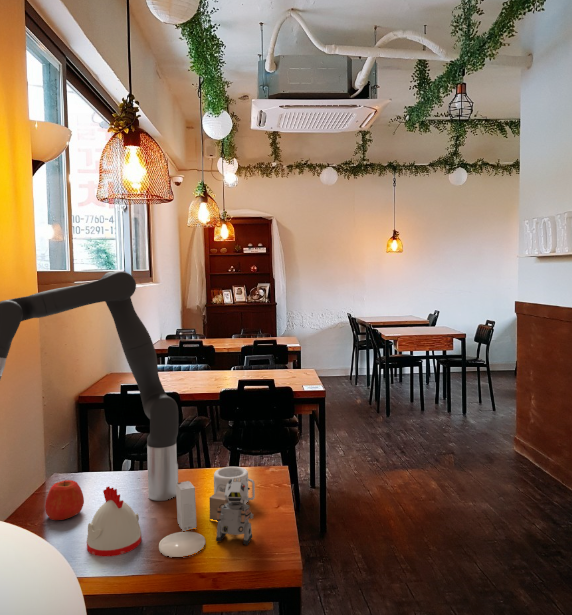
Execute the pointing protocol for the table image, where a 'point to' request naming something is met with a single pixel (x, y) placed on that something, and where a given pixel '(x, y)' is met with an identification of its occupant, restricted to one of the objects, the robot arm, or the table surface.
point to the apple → (64, 500)
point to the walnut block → (216, 503)
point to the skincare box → (186, 505)
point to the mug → (229, 473)
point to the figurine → (235, 512)
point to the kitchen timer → (113, 527)
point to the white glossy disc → (181, 544)
